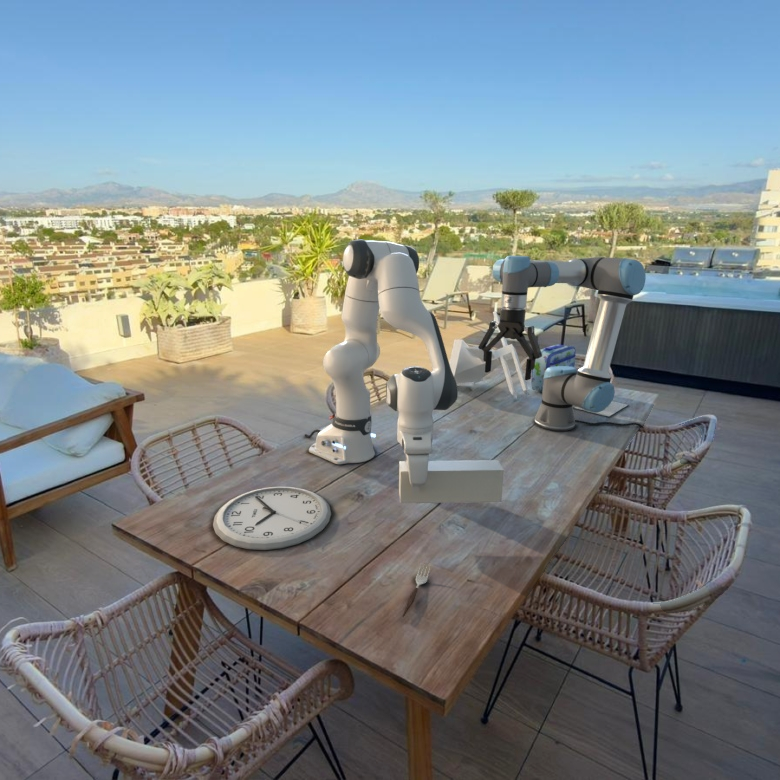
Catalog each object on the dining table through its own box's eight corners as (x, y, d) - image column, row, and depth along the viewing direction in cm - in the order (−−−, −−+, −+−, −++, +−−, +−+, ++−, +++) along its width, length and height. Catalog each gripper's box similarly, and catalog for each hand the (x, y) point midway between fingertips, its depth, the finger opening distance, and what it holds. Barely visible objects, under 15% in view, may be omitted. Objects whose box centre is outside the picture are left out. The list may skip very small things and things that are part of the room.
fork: (396, 617, 102) (396, 608, 101) (420, 569, 116) (420, 561, 116) (409, 620, 101) (409, 612, 101) (431, 572, 116) (431, 564, 115)
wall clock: (329, 541, 123) (198, 546, 121) (329, 547, 124) (199, 552, 121) (332, 482, 152) (226, 484, 149) (332, 487, 152) (226, 489, 150)
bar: (496, 490, 137) (498, 459, 134) (501, 502, 131) (503, 470, 129) (399, 492, 136) (399, 461, 133) (400, 503, 130) (400, 471, 128)
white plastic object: (461, 429, 252) (437, 405, 227) (444, 352, 274) (420, 323, 250) (535, 404, 240) (518, 377, 215) (510, 326, 262) (492, 293, 237)
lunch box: (547, 397, 237) (552, 352, 231) (526, 391, 245) (531, 348, 238) (574, 386, 255) (580, 344, 249) (554, 381, 262) (559, 340, 256)
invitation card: (608, 416, 214) (573, 407, 224) (608, 416, 214) (573, 408, 224) (628, 404, 229) (594, 396, 238) (628, 405, 229) (594, 397, 238)
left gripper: (399, 419, 138) (399, 466, 142) (405, 450, 118) (404, 504, 123) (423, 418, 138) (422, 466, 142) (432, 450, 119) (431, 504, 123)
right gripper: (470, 305, 163) (466, 371, 169) (548, 314, 149) (540, 385, 155) (481, 302, 169) (477, 366, 175) (557, 311, 155) (550, 379, 161)
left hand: (414, 484), depth 132 cm, fingers closed on bar, 6 cm apart
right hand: (507, 375), depth 165 cm, fingers open, 13 cm apart
